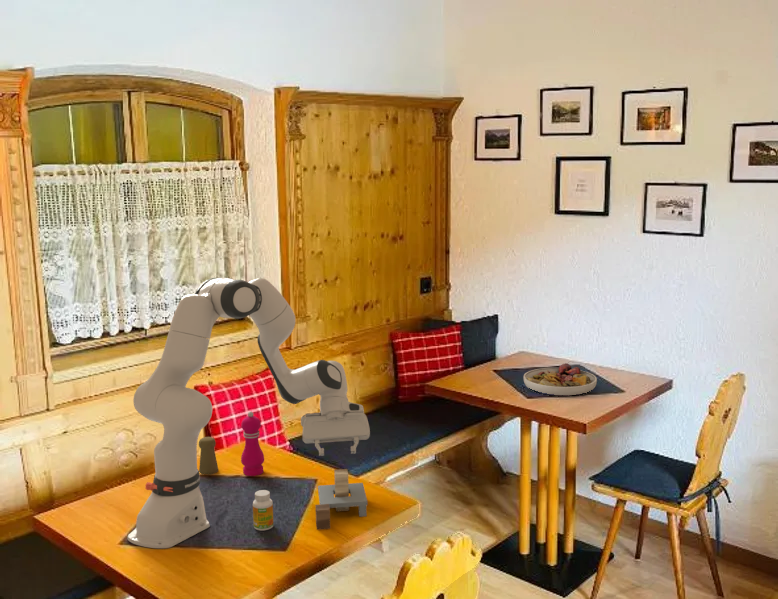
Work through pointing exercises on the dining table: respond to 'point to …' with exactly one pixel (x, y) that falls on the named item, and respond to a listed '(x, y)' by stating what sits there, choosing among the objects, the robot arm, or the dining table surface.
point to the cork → (207, 456)
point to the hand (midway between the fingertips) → (337, 454)
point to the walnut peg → (323, 516)
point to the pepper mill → (252, 446)
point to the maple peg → (341, 486)
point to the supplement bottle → (262, 511)
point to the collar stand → (354, 499)
